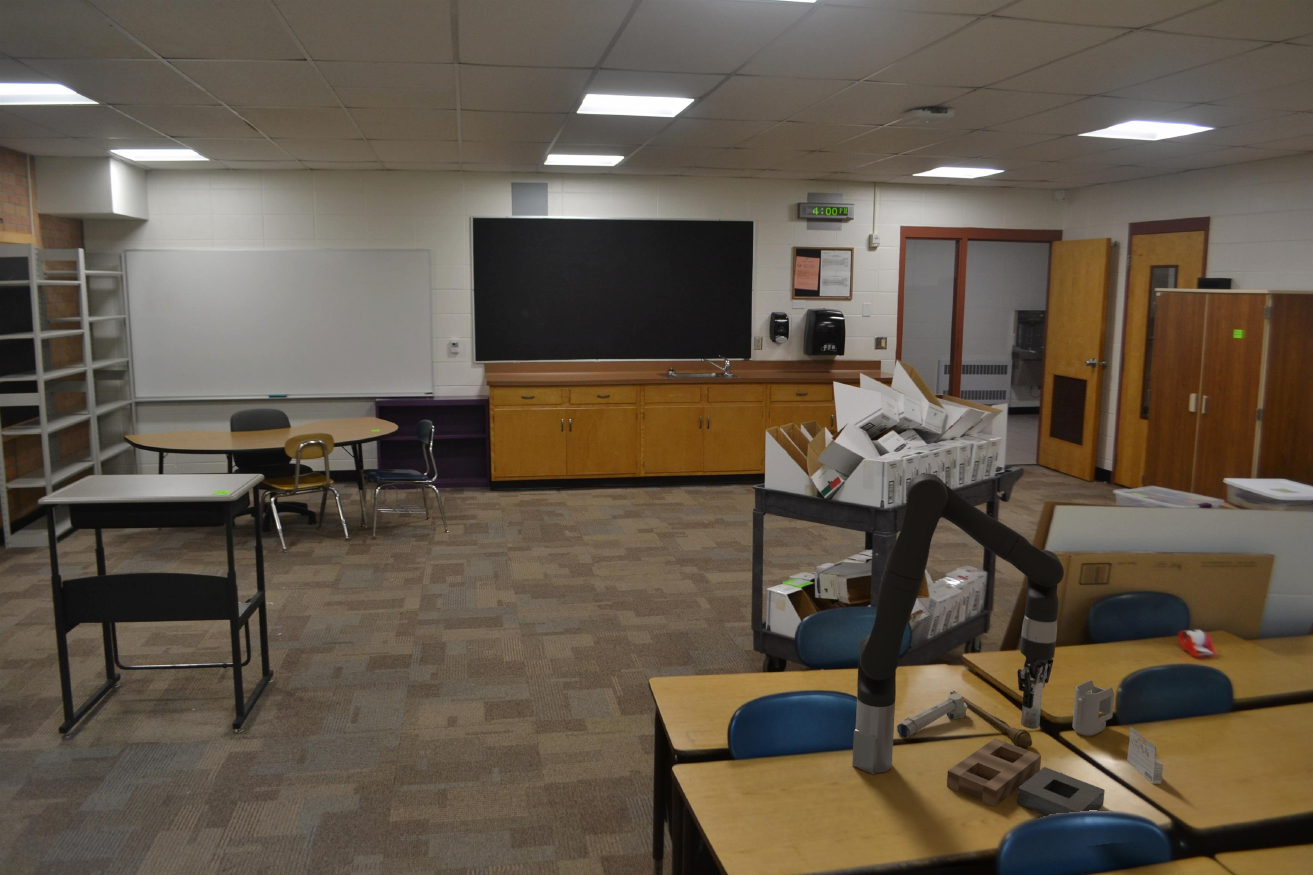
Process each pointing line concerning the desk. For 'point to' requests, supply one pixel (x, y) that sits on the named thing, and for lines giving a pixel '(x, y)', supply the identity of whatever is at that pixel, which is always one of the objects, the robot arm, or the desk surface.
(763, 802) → the desk surface
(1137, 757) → the ink cartridge box
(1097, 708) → the cable organizer
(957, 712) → the grey piece
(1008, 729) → the brown knobbed rod
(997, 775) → the rack
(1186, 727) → the desk surface
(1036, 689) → the grey tall bar
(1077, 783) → the socket block
